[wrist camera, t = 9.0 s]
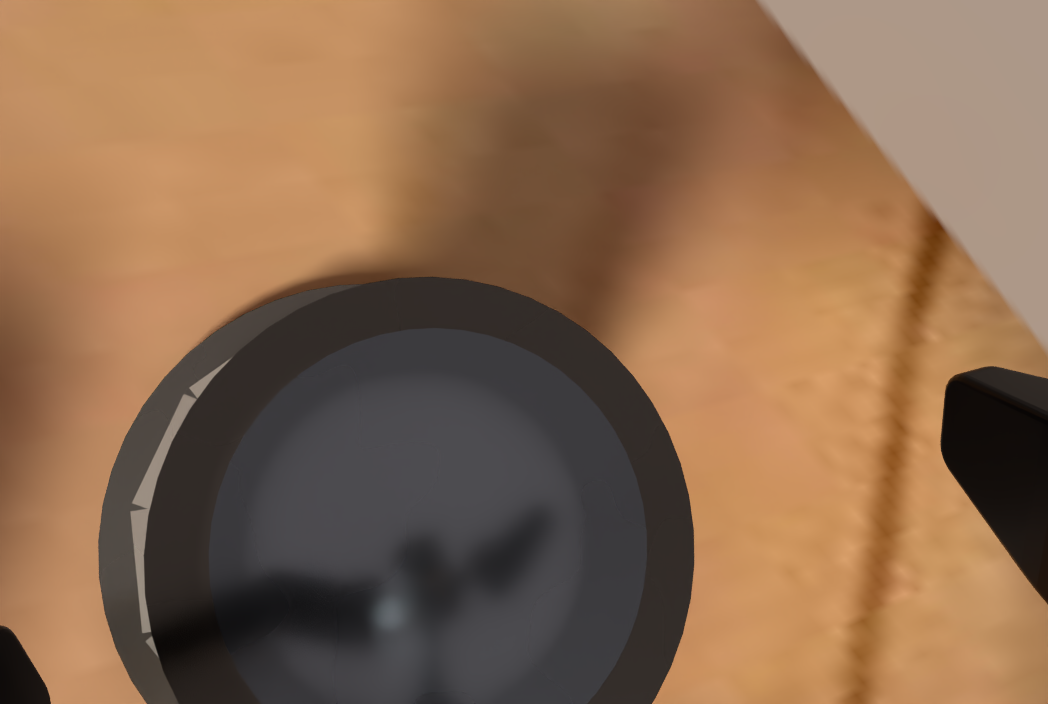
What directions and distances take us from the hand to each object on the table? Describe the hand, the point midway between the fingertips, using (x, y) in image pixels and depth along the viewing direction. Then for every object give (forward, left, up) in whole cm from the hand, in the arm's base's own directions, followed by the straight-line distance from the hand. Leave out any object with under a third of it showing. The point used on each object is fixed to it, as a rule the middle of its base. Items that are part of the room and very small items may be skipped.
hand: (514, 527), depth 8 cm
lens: (0, +1, -12) cm, 12 cm away
